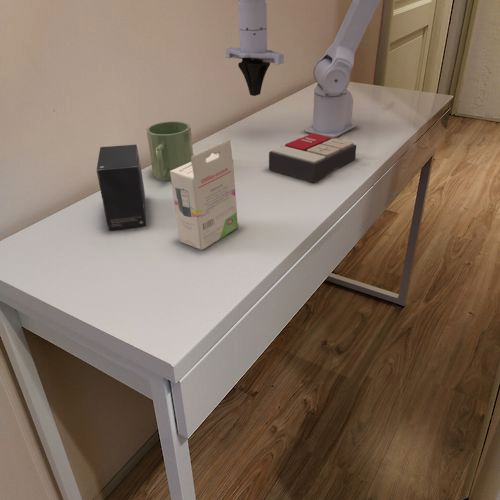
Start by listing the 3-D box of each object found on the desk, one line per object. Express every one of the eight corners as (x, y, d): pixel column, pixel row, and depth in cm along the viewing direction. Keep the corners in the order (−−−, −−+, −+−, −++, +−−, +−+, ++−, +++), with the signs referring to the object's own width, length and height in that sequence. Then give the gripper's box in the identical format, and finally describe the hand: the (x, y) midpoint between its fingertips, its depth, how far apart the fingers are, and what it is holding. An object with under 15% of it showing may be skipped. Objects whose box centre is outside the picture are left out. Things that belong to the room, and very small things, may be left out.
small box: (148, 226, 81) (138, 165, 75) (107, 231, 80) (94, 170, 74) (146, 198, 90) (137, 142, 84) (109, 203, 89) (98, 146, 83)
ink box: (215, 219, 82) (208, 132, 74) (239, 228, 79) (233, 138, 72) (177, 241, 77) (165, 149, 69) (200, 252, 74) (190, 156, 66)
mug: (160, 163, 104) (154, 120, 99) (199, 164, 102) (195, 121, 98) (141, 186, 94) (134, 140, 90) (183, 188, 93) (178, 141, 88)
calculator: (357, 141, 100) (315, 160, 90) (355, 161, 102) (314, 183, 92) (312, 131, 106) (268, 148, 97) (311, 150, 109) (267, 169, 99)
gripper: (214, 28, 106) (219, 94, 113) (268, 33, 98) (269, 103, 105) (236, 24, 110) (239, 87, 117) (290, 28, 102) (289, 96, 109)
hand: (255, 94), depth 111 cm, fingers closed
